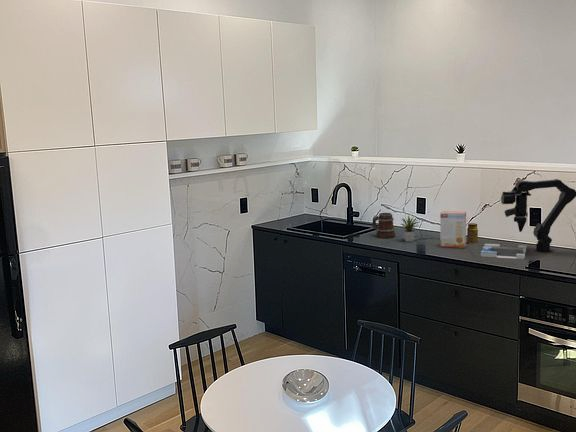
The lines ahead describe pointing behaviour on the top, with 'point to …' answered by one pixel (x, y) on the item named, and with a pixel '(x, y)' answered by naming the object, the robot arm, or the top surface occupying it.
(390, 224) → the mug
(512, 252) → the long grey beam
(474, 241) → the condiment
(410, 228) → the house plant
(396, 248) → the top surface
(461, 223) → the cracker box
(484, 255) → the white plate with bars
